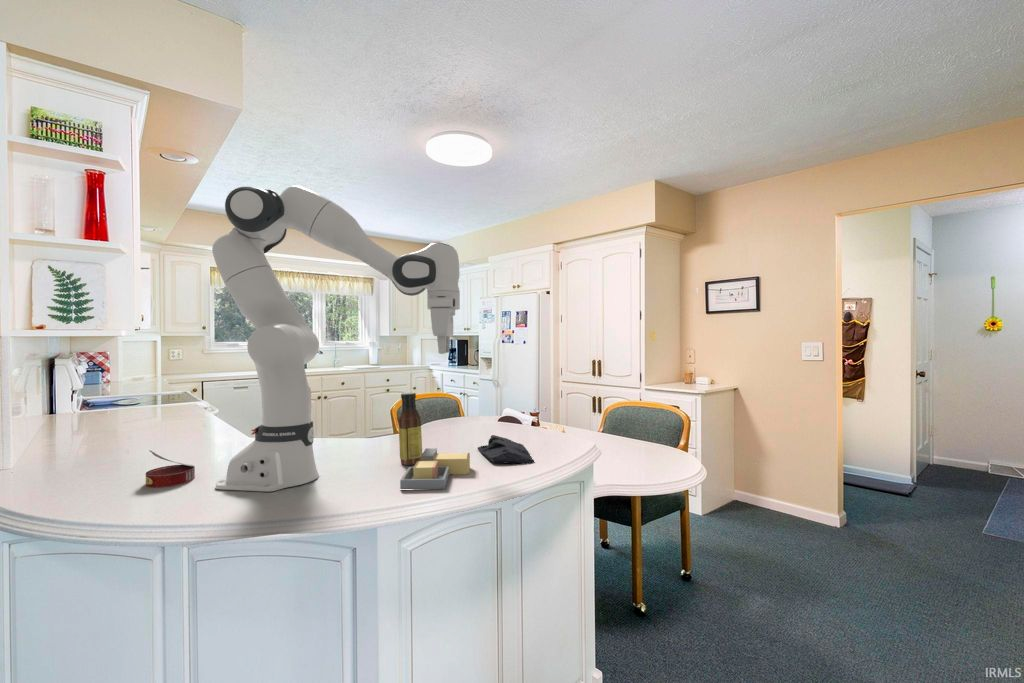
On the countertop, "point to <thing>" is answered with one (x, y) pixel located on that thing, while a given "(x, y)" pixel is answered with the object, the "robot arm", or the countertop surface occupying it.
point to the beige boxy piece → (449, 460)
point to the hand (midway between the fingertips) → (444, 353)
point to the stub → (425, 470)
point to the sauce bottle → (409, 431)
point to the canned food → (169, 474)
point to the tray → (425, 480)
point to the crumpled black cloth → (505, 451)
